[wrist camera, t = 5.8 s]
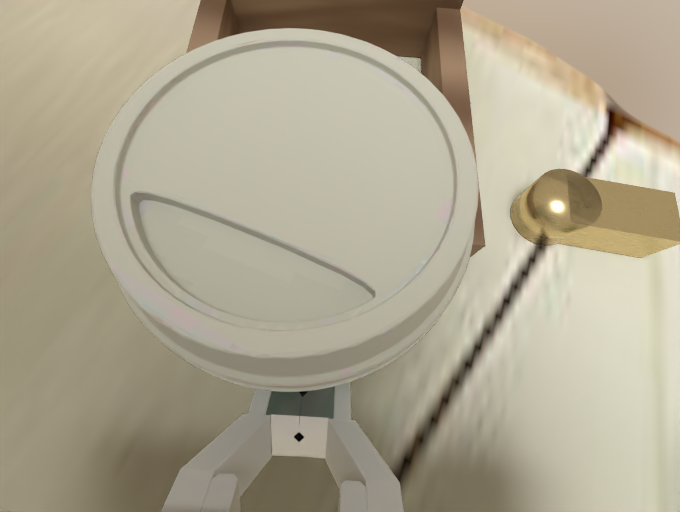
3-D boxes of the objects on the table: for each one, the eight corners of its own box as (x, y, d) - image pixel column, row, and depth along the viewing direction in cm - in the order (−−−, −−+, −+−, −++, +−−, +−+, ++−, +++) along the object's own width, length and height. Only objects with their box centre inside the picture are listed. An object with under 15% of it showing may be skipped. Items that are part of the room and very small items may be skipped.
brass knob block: (510, 239, 19) (536, 221, 17) (510, 187, 21) (534, 163, 18) (641, 262, 19) (685, 247, 17) (633, 208, 20) (673, 188, 18)
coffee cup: (203, 277, 18) (-8, 107, 6) (333, 200, 20) (343, -33, 8) (287, 419, 16) (187, 538, 4) (423, 317, 18) (600, 213, 6)
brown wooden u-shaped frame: (456, 267, 19) (568, 182, 10) (172, 250, 18) (40, 146, 10) (439, 37, 25) (500, -139, 16) (226, 19, 24) (173, -170, 16)
